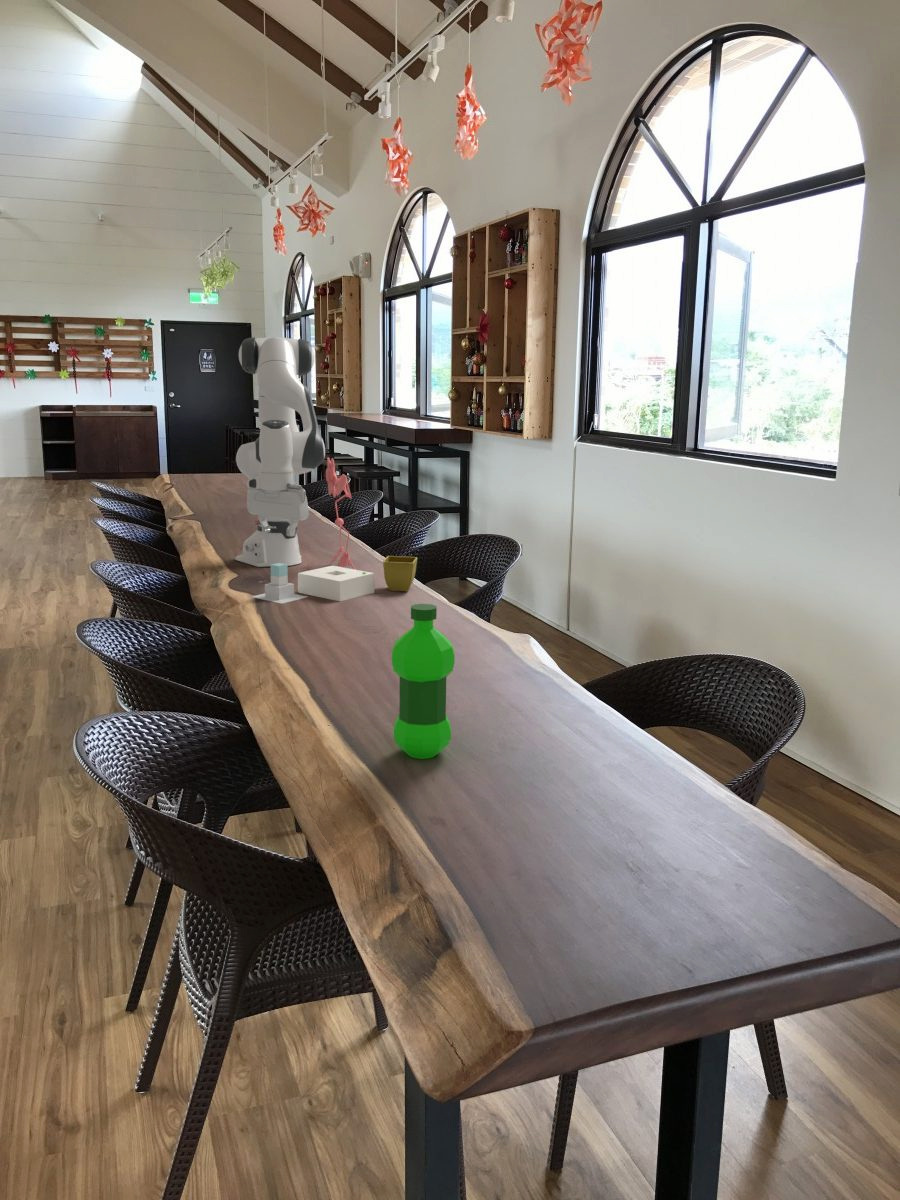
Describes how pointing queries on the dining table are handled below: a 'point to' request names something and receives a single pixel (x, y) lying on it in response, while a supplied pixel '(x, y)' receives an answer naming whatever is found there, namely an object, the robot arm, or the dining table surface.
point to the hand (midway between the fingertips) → (278, 534)
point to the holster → (279, 594)
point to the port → (336, 583)
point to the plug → (279, 574)
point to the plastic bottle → (422, 685)
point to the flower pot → (399, 572)
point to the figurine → (340, 483)
